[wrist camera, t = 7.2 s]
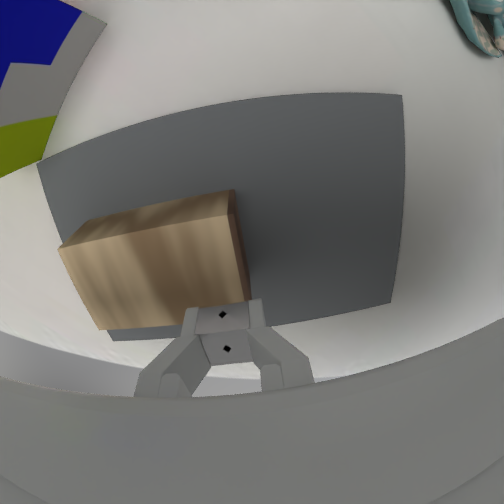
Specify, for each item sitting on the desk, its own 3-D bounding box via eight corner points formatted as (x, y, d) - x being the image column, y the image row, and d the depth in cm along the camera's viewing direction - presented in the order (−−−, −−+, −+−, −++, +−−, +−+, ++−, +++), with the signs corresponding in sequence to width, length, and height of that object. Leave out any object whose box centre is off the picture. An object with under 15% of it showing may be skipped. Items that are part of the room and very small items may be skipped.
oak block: (233, 213, 12) (57, 249, 12) (253, 315, 15) (99, 330, 15) (234, 188, 16) (87, 220, 16) (249, 275, 19) (117, 293, 19)
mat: (398, 95, 13) (401, 95, 13) (388, 299, 21) (390, 302, 21) (39, 162, 14) (36, 163, 14) (114, 337, 22) (113, 341, 21)
